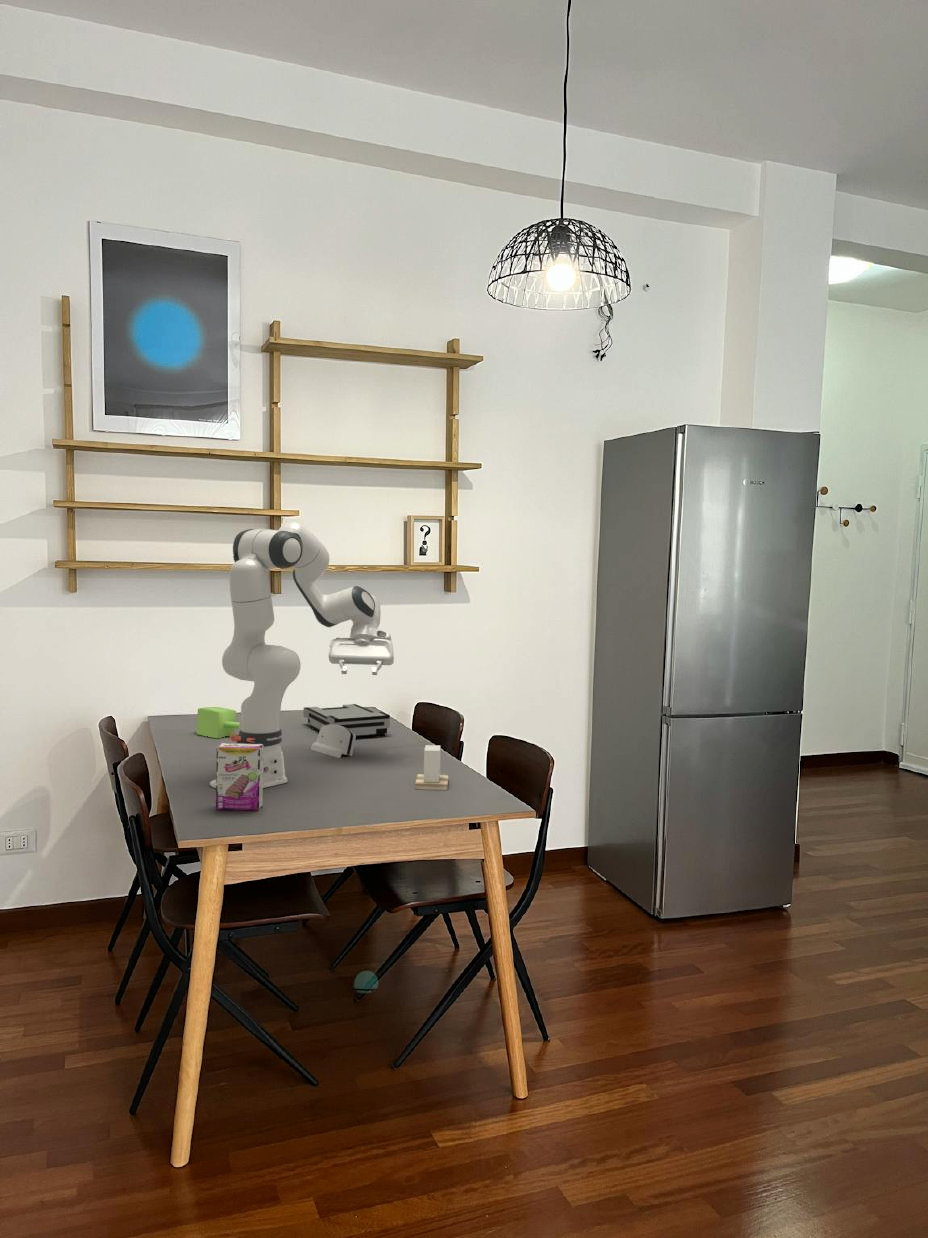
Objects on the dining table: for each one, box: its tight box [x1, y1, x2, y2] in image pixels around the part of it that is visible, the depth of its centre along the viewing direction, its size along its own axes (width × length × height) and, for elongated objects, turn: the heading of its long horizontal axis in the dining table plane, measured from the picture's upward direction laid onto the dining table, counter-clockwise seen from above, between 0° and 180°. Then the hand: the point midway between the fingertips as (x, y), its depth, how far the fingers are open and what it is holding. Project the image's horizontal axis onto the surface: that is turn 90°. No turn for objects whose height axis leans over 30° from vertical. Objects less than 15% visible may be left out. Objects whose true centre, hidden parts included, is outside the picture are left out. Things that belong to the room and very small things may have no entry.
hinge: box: [310, 724, 357, 759], centre depth 304 cm, size 17×5×10 cm, turn 43°
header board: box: [414, 773, 449, 791], centre depth 266 cm, size 11×9×5 cm
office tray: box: [302, 703, 391, 738], centre depth 339 cm, size 21×32×8 cm, turn 29°
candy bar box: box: [215, 742, 264, 811], centre depth 238 cm, size 11×5×16 cm, turn 92°
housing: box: [423, 744, 441, 782], centre depth 266 cm, size 7×4×9 cm, turn 179°
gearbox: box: [196, 706, 241, 739], centre depth 326 cm, size 18×10×10 cm, turn 57°
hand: (359, 673), depth 286 cm, fingers open, 8 cm apart
